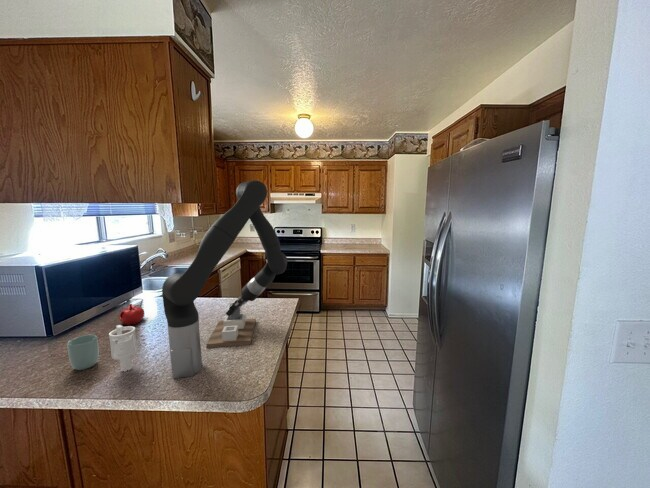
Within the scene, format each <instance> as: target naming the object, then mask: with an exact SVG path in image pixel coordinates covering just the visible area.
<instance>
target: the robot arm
mask: <svg viewBox="0 0 650 488" xmlns="http://www.w3.org/2000/svg"><path fill="white" fill-rule="evenodd" d="M235 195H236V198H237V201H236V203H235V204H234V205H233V206H232V207H231V208H229V210H228V211H226V212H225V213H224V214H222V215H221V216H220V217H218V219H216V220H215V221H214V222H213V223H212V225H211V226H210V227H209V228H208V230H207V231H206V232H205V234H204V235H203V237H202V239H201V241H200V244H199V247H198V249H197V251H196V254H195V257H194V258H193V259H194V260H192V262H191V264H190V265H189V266H188V267H187V269H186V270H185V271H184V272H182V273H174V274H171V275H170V276H168V277H167V278H166V279H165V280H164V282H163V284H162V289H161V292H162V293H161V294H162V302H163V311H164V314H165V318H166V322H167V332H168V347H169V354H170V365H171V374H172V379H178V378H190V377H193V376H194V375H195V374H197V373H198V372H200V371H201V369H202V368H203V360H202V358H203V356H202V348H201V347H202V344H201V333H200V318H199V311H198V308H197V307H196V304H195V300H197V298H198V297H199V296H200V294H201V293H202V290H203V289H204V286H205V285H206V283H207V282H208V280H209V277H210V276H211V274H212V273H213V271H214V270H215V268H216V267H217V266H218V265H219V263H220V262H221V260H222V259H223V257H224V255H225V254H226V253H227V251H228V250H229V249H230V248H231V247H232V245H233V243H234V242H235V240H236V239H237V237H238V236H239V234H240V233H241V232H242V230H243V229H244V228H245V225H246V224H247V222H248V221H249V220H250V222H251V224H252V225H253V227H254V229H255V232H256V233H257V235H258V238H259V240H260V243H261V247H263V250H264V252H265V257H266V263H265V265H264V266H263V268H261V270H259V271H258V272H257V273H256V275H255V276H253V277H252V278H251V279H250V280H249V281H248V282H247V283H246V284H245V285H244V286H243V287H242V289H241V290H240V291H241V295H240V296H239V297H237V299H236V300H235V301H234V302H232V303H233V305H232V306H231V307H230V306H229V308H228V309H227V311H226V312H225V314H226V315H228V316H230V315H231V314H232V313H233V312H234V311H236V310H237V309H238V308H240V309H241V307H242V306H244V305H246V304H247V303H248V302H253V301H255V300H256V299H257V298H258V297H259V296H260V295H261V294H262V293H263V292H264V291H265V289H267V287H268V286H269V285H270V284H271V283H272V282H273V281H275V277H276V276H277V275H280V274H284V273H285V271H287V266H288V258H287V257H288V256H287V255H286V254H285V253H283V252H282V251H281V243H280V240H279V236H278V235H277V232H276V230H275V228H274V227H273V225H272V223H270V221H269V220H268V219H267V218H266V216H265V215H264V213H263V211H262V209H261V206H262V205H263V204H264V202H265V201H266V198H267V195H268V189H267V186H266V185H265V183H263V182H262V181H260V180H248V181H243V182H241V183H239V184H238V185H237V187H236V190H235Z"/></svg>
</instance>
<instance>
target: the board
mask: <svg viewBox="0 0 650 488" xmlns="http://www.w3.org/2000/svg"><path fill="white" fill-rule="evenodd" d="M223 321H224V320H219V321H218V322H217V324H216V326H215V328H214V329H213V331H212V333H211V335H210V337H209V339H208V340H207V342H206V344H205V346H206V348H207V349H209V348H210V349H211V348H218V347H219V348H220V347H221V348H222V347H232V346H233V347H234V346H243V345H251V344H252V341H253V340H252V339H253V336H254V331H255V328H256V327H255V326H256V322H257V318H246V323H245V326H244V329H238V337H237V339H236V340H234V341H222V331H223V328H224V322H223Z"/></svg>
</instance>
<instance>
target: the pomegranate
mask: <svg viewBox="0 0 650 488" xmlns="http://www.w3.org/2000/svg"><path fill="white" fill-rule="evenodd" d="M126 307H127V308H122V309H121V312H120V314H119V316H118V317H119V321H120V322H121V324H122V325H127V326H131V325H135V324H138V323H139V322H141V321H142V320H143V318H144V317H145V310H144V309H143V308H141V307H140V305H138V304H137V305H135V304H132V303H130V304H129V305H127V306H126Z"/></svg>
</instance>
